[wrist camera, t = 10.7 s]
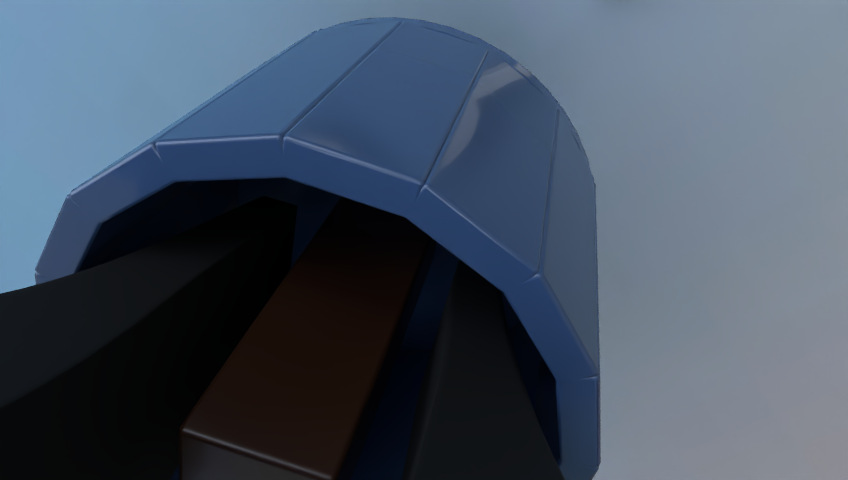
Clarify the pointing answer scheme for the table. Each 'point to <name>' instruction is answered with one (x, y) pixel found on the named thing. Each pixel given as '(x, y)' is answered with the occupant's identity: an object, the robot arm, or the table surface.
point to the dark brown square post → (313, 357)
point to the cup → (390, 200)
